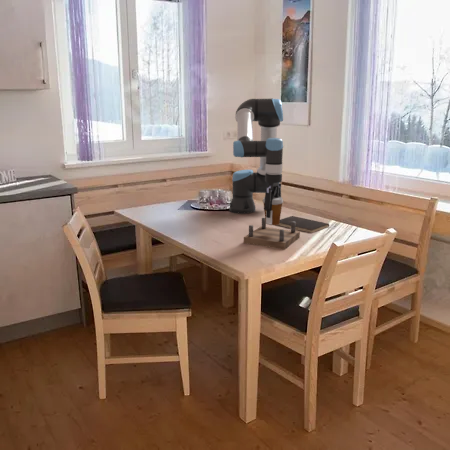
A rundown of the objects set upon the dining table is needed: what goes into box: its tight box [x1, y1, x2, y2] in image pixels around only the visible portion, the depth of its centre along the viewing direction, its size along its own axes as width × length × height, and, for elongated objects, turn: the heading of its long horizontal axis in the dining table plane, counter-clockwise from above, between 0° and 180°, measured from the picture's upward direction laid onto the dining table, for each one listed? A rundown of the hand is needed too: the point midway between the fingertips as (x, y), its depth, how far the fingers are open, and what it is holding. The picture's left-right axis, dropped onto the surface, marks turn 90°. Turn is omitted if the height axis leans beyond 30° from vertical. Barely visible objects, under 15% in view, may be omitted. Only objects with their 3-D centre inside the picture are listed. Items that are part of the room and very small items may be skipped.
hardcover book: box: [277, 215, 330, 234], centre depth 256 cm, size 16×23×2 cm
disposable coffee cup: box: [262, 196, 284, 226], centre depth 228 cm, size 10×10×12 cm
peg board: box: [243, 217, 301, 250], centre depth 231 cm, size 20×20×8 cm
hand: (272, 221), depth 229 cm, fingers closed on disposable coffee cup, 8 cm apart
